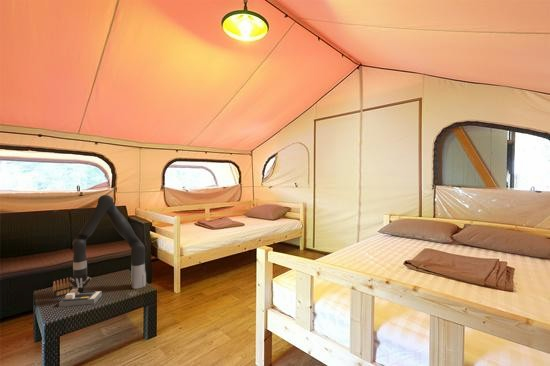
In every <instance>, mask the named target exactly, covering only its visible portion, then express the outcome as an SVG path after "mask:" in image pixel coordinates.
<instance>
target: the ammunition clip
mask: <svg viewBox="0 0 550 366" xmlns="http://www.w3.org/2000/svg"><path fill="white" fill-rule="evenodd" d="M71 279H72V277H71V276H70V277H66V279H65V278H63V280H62V278H60V280H59V279H57V280H54V281H53V283H52V284H53V285H52V298H53V299H57V298H60V297H65V295H66V294H68V293H70V291H71V290H72V289H73V285H72V284H71V283H70V282H69V281H70V280H71Z"/></svg>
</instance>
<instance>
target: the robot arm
mask: <svg viewBox="0 0 550 366" xmlns="http://www.w3.org/2000/svg"><path fill="white" fill-rule="evenodd" d="M105 214H106V215H107V216H108V218H109V220H110V222H111V224H112V226H113V228H114V229H115V230H116V232H117V233H118V234H119V236H121V237H122V238H123V239H124V240H125V242H127V244H128V246H129V248H130V256H131V257H130V258H131V259H130V261H131V263H130V266H131V267H130V268H131V272H130V274H131V277H130V279H131V288H132V289H134V290H136V289H141V288H145V286H146V285H147V272H146V247H145V244H144V243H143V242H142V241H141V240H140V238H139V237H138V236H137V235H136V233H135V231H134V229H133V228H132V225H131V224H130V222H129V221H128V219H127V218H126V217H125V216H124V215H123V214H122V212H120V210H119V209H118V207H117V205H116V204H115V202H114V199H113V197H112V196H110V195H109V194H108V195H107V194H104V195H103V194H102V195H101V196H99V198H98V199H97V204H96V206H95V209H94V210H93V212H92V213H91V215H90V216H89V217H88V219H87V220H86V222H85V223H84V225H83V226H82V228H81V229H80V231H79V233H77V235H75V237H74V239H73V240H72V242H71V244H72V249H73V255H72V261H73V263H72V270H73V271H72V272H73V273H72V274H73V276H72V278H71V280H70V279H69V280H68V281H69V282H70V283H71V284H72V287H73V288H74V287H75V288H77V289H78V292H79V293H82V292H83V291H85V287H86V285H88V283H89V282H90V281H91V280H92V277H90V276H89V275H88V264H87V263H88V261H87V241H88V239H89V237H91V236H92V235H93V233H94V232H95V230H96V229H97V226H98V225H99V223H100V221H102V220H101V219H102V218H103V217H104V215H105Z"/></svg>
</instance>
